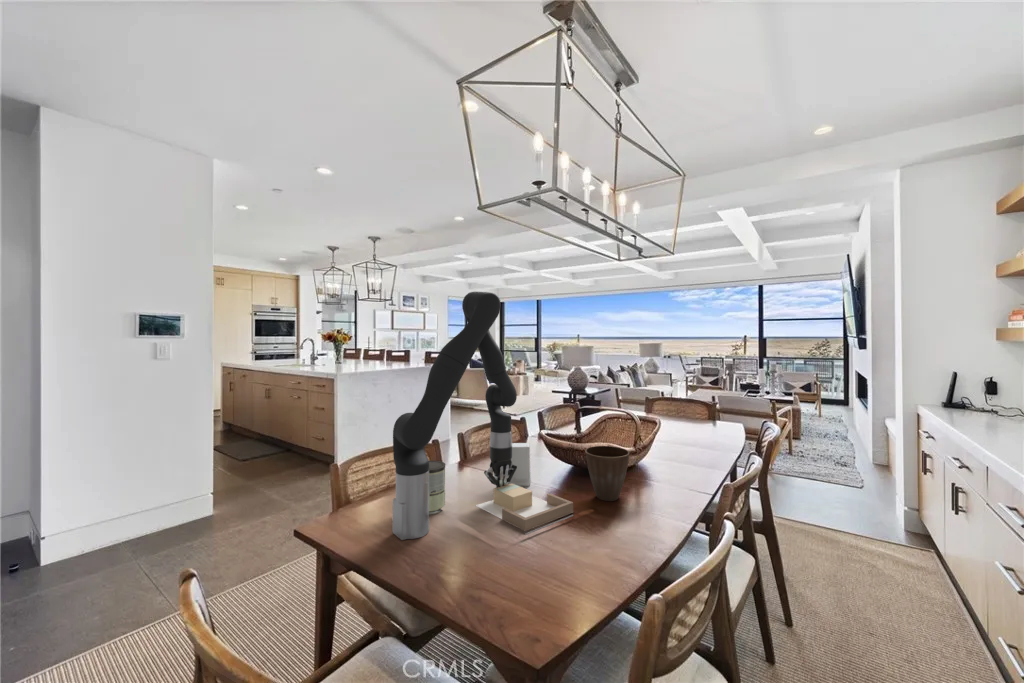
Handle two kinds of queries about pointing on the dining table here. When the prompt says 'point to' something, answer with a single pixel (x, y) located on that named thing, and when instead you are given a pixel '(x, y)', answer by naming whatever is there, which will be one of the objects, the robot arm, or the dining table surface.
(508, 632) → the dining table surface
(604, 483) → the plant pot
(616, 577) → the dining table surface
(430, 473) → the coffee can
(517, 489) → the carton
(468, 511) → the dining table surface
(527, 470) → the skincare box
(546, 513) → the tan flat tray
